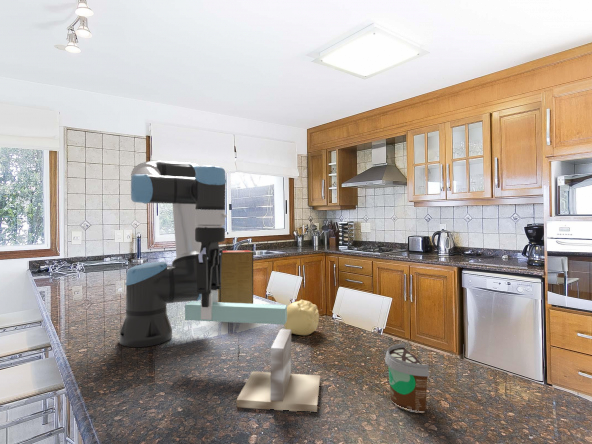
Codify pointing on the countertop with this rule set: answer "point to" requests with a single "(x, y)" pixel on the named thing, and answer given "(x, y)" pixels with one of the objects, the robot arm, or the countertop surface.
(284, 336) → the balance stand
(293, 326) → the sculpture
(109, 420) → the countertop surface
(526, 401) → the countertop surface
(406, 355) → the food container
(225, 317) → the beam
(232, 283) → the food packaging
